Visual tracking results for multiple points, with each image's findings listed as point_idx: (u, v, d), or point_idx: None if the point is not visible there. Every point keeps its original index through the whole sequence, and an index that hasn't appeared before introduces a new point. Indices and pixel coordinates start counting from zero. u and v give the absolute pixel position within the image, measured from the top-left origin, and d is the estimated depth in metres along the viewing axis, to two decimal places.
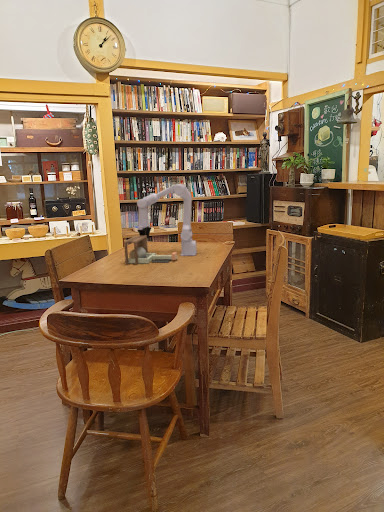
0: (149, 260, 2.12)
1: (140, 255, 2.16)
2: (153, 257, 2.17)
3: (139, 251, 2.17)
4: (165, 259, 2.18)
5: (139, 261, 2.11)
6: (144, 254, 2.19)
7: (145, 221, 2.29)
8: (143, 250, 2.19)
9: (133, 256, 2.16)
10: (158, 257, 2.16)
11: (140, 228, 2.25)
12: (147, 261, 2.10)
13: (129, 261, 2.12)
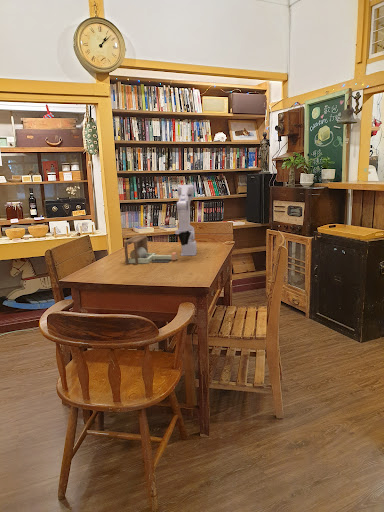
0: (149, 260, 2.12)
1: (141, 255, 2.16)
2: (153, 257, 2.17)
3: (140, 251, 2.16)
4: (165, 259, 2.18)
5: (139, 261, 2.11)
6: (145, 254, 2.19)
7: (184, 225, 2.08)
8: (144, 250, 2.19)
9: (133, 256, 2.16)
10: (158, 257, 2.16)
11: (176, 232, 2.05)
12: (147, 261, 2.10)
13: (129, 261, 2.12)
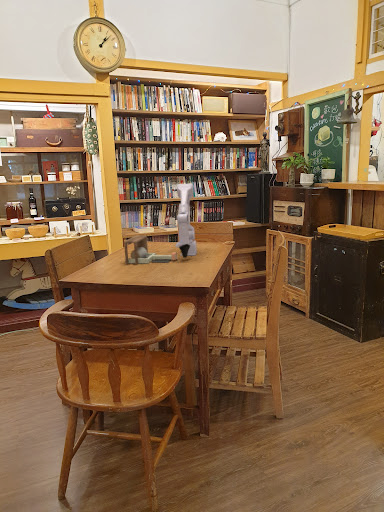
0: (149, 260, 2.12)
1: (141, 255, 2.16)
2: (153, 257, 2.17)
3: (140, 251, 2.16)
4: (165, 259, 2.18)
5: (139, 261, 2.11)
6: (145, 254, 2.19)
7: (184, 238, 2.09)
8: (144, 250, 2.19)
9: (134, 256, 2.16)
10: (158, 257, 2.16)
11: (176, 245, 2.07)
12: (147, 261, 2.10)
13: (129, 261, 2.12)
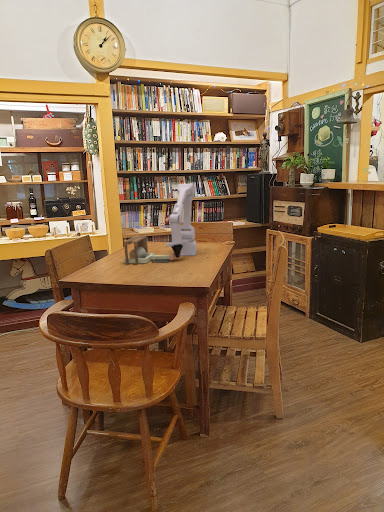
0: (147, 260, 2.12)
1: (140, 255, 2.16)
2: (151, 257, 2.17)
3: (139, 251, 2.16)
4: (165, 259, 2.18)
5: None
6: (144, 254, 2.19)
7: (175, 238, 2.10)
8: (143, 250, 2.19)
9: (132, 256, 2.16)
10: (156, 257, 2.16)
11: (167, 245, 2.09)
12: (145, 261, 2.10)
13: None
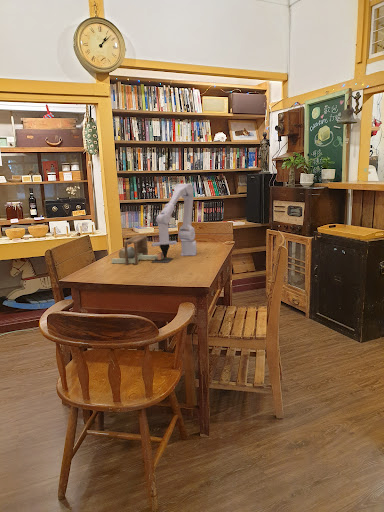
0: None
1: (128, 255, 2.18)
2: (139, 257, 2.18)
3: None
4: (165, 259, 2.18)
5: (125, 261, 2.12)
6: (133, 254, 2.20)
7: (161, 238, 2.12)
8: (132, 250, 2.20)
9: (121, 255, 2.19)
10: (144, 257, 2.18)
11: (152, 245, 2.13)
12: (133, 261, 2.12)
13: (115, 261, 2.13)
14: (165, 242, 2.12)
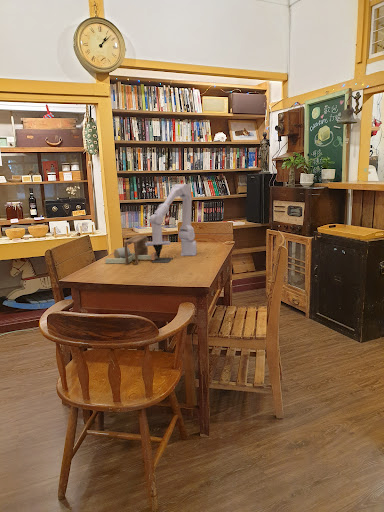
0: (129, 260, 2.14)
1: (122, 255, 2.19)
2: (133, 257, 2.19)
3: (121, 251, 2.20)
4: (165, 259, 2.18)
5: (119, 261, 2.13)
6: None
7: (153, 238, 2.13)
8: None
9: (116, 255, 2.21)
10: (138, 257, 2.18)
11: (145, 244, 2.14)
12: None
13: (109, 261, 2.14)
14: (158, 242, 2.13)
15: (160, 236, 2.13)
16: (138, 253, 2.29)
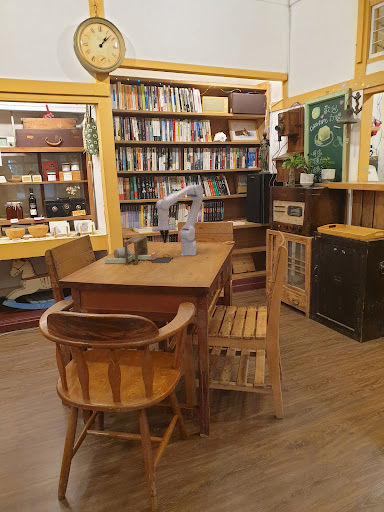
0: (128, 260, 2.14)
1: (121, 255, 2.19)
2: (133, 257, 2.19)
3: (121, 251, 2.20)
4: (165, 259, 2.18)
5: (118, 261, 2.13)
6: None
7: (160, 223, 2.16)
8: None
9: (115, 255, 2.21)
10: (138, 257, 2.18)
11: None
12: None
13: (109, 261, 2.14)
14: (164, 227, 2.15)
15: (166, 221, 2.15)
16: (138, 253, 2.29)
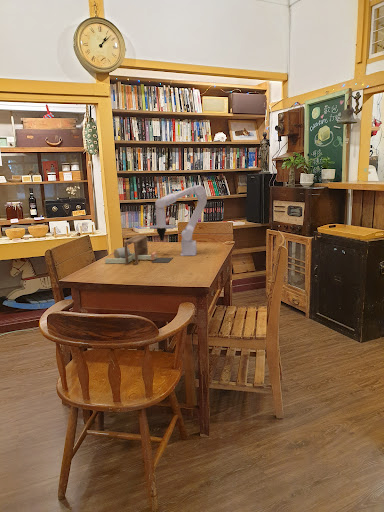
0: (128, 260, 2.14)
1: (121, 255, 2.19)
2: (133, 257, 2.19)
3: (121, 251, 2.20)
4: (165, 259, 2.18)
5: (118, 261, 2.13)
6: None
7: (156, 222, 2.25)
8: None
9: (115, 255, 2.21)
10: (138, 257, 2.18)
11: None
12: None
13: (109, 261, 2.14)
14: (160, 226, 2.24)
15: (162, 220, 2.23)
16: (138, 253, 2.29)
